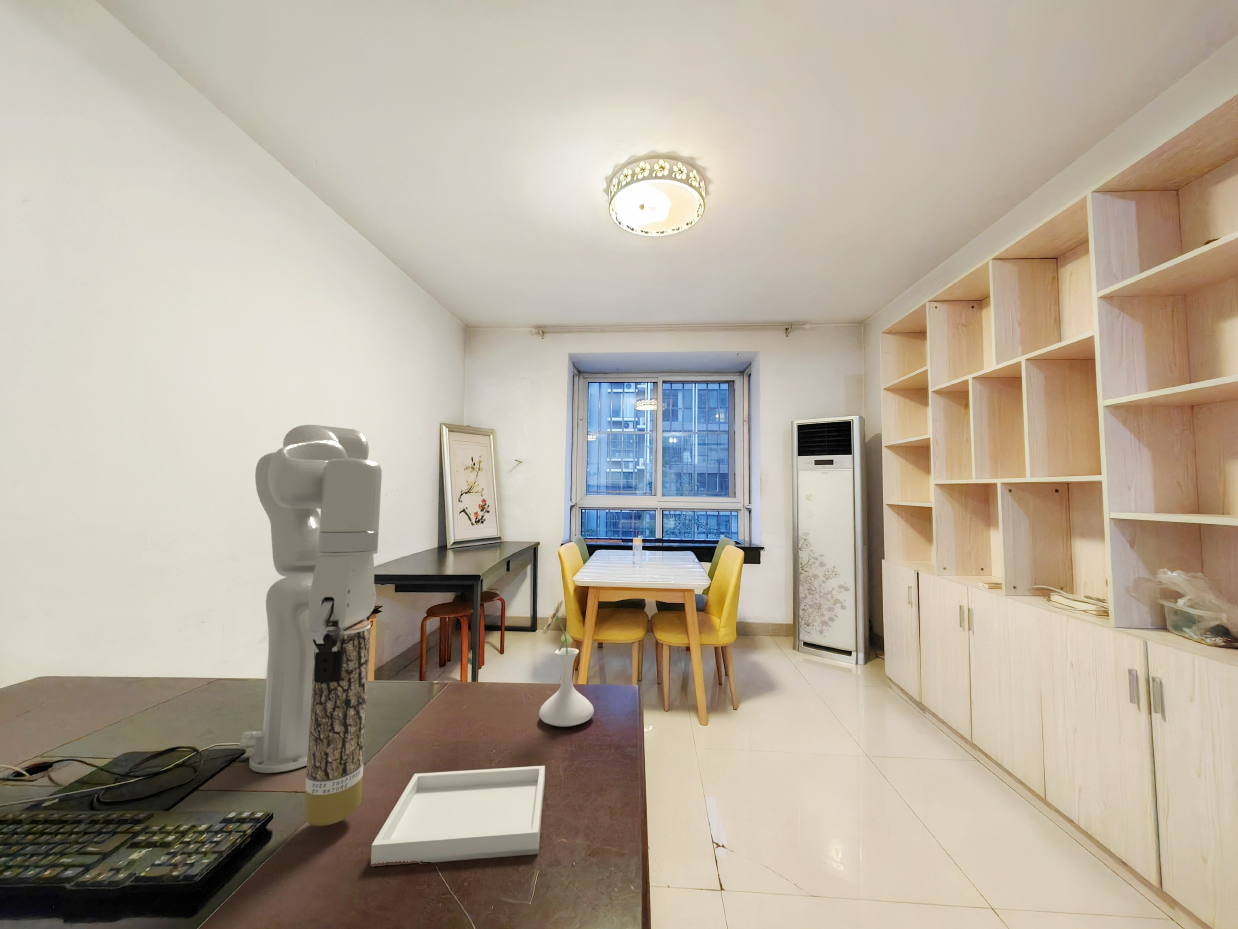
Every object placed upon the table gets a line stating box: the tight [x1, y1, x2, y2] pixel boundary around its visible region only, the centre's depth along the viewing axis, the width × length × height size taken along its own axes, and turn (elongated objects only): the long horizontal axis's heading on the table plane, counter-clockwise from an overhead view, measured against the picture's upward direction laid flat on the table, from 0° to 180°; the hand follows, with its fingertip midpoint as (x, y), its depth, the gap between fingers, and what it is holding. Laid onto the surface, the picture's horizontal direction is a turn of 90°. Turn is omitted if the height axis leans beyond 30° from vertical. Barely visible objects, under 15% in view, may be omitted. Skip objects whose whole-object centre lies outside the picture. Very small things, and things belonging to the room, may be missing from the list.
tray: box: [370, 765, 546, 865], centre depth 66 cm, size 20×16×2 cm
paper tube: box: [303, 620, 372, 827], centre depth 66 cm, size 7×7×25 cm
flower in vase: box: [538, 599, 595, 727], centre depth 98 cm, size 13×11×25 cm
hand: (341, 670), depth 66 cm, fingers closed on paper tube, 6 cm apart
